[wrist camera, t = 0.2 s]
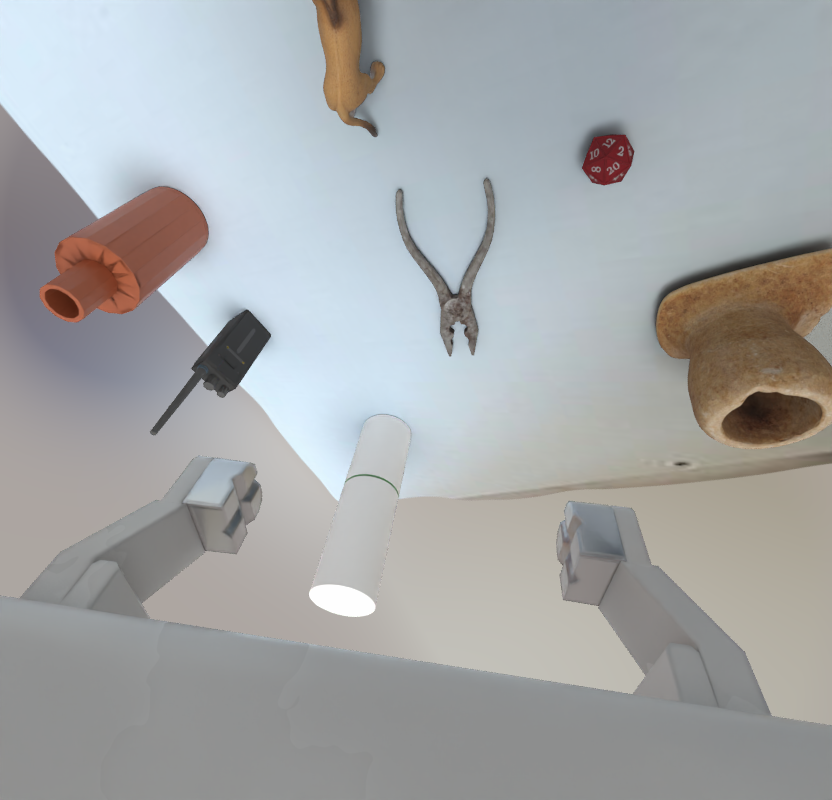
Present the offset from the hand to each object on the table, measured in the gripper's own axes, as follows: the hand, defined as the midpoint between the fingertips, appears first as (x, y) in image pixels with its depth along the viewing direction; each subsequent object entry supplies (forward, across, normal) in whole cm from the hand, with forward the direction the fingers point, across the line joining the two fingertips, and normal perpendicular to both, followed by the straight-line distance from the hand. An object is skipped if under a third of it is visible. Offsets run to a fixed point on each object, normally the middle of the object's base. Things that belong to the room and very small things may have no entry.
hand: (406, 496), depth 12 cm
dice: (+39, -11, -3) cm, 41 cm away
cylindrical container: (+43, +9, +35) cm, 56 cm away
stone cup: (+40, -28, +11) cm, 50 cm away
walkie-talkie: (+41, +26, +19) cm, 52 cm away
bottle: (+40, +31, +6) cm, 51 cm away
